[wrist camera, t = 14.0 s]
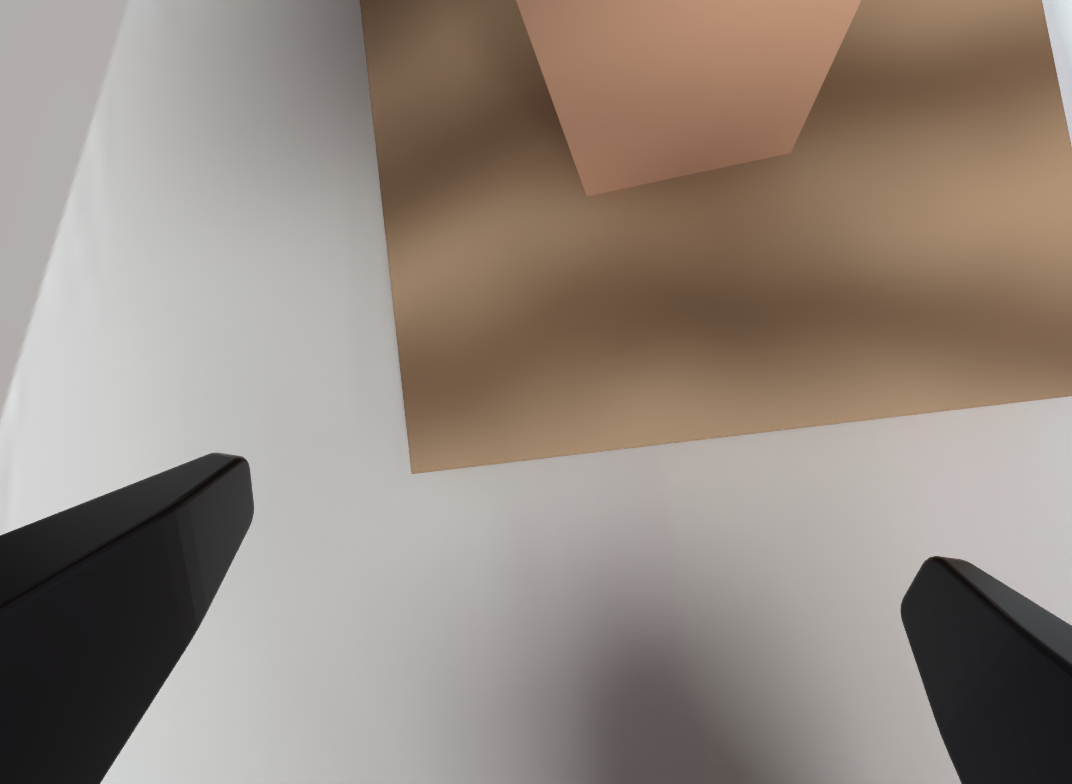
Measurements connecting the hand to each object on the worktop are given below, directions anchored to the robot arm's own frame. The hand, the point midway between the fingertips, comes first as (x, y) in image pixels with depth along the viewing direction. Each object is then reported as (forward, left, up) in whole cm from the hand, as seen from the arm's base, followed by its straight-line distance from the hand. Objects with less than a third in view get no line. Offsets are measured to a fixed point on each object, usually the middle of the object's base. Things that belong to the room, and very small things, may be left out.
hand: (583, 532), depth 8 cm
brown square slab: (+6, -8, -10) cm, 14 cm away
